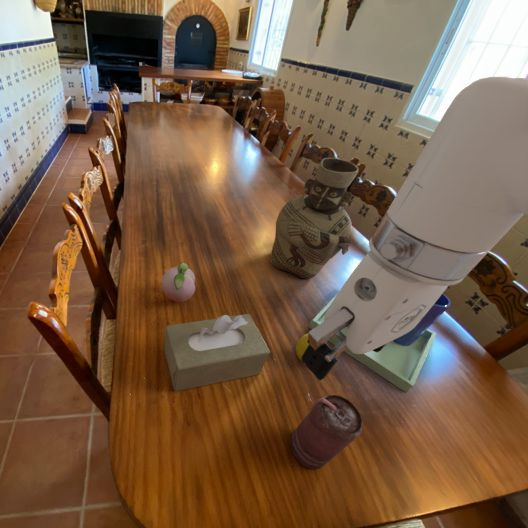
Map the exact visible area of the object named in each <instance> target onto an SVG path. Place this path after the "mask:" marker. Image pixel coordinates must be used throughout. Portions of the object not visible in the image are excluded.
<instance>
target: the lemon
mask: <svg viewBox="0 0 528 528" xmlns="http://www.w3.org/2000/svg"><path fill="white" fill-rule="evenodd" d="M307 340H308V333H306V334H304V335H302V336H301V337H300V338H299V339H298V340H297V341H296V345H295V353H296V356H297V357H298V359H299V360H300V361H301V362H303V361H302V359H301V357H302V355H303V354H304V352H305V350H306V349H307V347H308V345H309V343H308V342H307Z"/></svg>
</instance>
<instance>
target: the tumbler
mask: <svg viewBox="0 0 528 528" xmlns="http://www.w3.org/2000/svg"><path fill="white" fill-rule="evenodd" d="M451 304H452V302H451V300H450V298H449V297H448V296H447V295H446V294H445V293H443V294H442V295H441V296H440V297H439V299H438V300H437V301H436V302H435V304H434V305H433V306H432V307H431V308H430V310H429V311H428V312H427V313H426V315H425V316H424V317H423V318H422V319H421V321H420V322H419V323H418V324H417V325H416V326H415V327H414V328H413V329H412V330H411V331H409V332H408V333H406V334H404V335H403V336H401V337H399V338H397V339H395V340H393V341H394V342H395V343H397V344H400V345H403V346H410V345H412V344H413V343H414V342H415V341H416V340H417V339H418V338H419V337H420V336H421V335H422V334H423V333H424V332H425V331H426V330H427V329H429V328H430V327H431V326H432V325H434V323H435V322H436V321H437V320H438V319H439V318H440V317H441V316H442V315H443V314H444V312H446V311H447V310H448V309H449V307H450V306H451Z"/></svg>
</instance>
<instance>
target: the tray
mask: <svg viewBox="0 0 528 528" xmlns="http://www.w3.org/2000/svg"><path fill="white" fill-rule="evenodd" d="M338 293H339V291H338V292H337V293H336V294H335V295H334V296H333V297H332V298H331V299H330V301H329V302H328V303H327V304H326V305H325V306H324V307H323V308H322V309H321V310H320V311H319V312H318V313H317V315H315V317H313V318H312V320H311V321H310V324H308V328H310V329H311V330H312V329H314V328H315V327H316V326H318V325H319V324H321V323H322V322H324V317H325V315H326V313H327V311H328V309H329V307H330V305H331V304H332V302H333V300H334V299H335V297H336V296H337V294H338ZM347 329H348V328H347V327H345V328H344V329H342V330H341V332H342V333H343V334H344V335H345V336H346V337H347ZM437 334H438V333H436V332H434V331H433V330H431V329H429V328H428V329H427V330H426V331H425V332H424V333H423V334H422V335H421V336H420V337H419V338H418V339H417V340H416V341H415V342H414V343H413V344H412V345H410V346H403V345H400V344H397V343H395V342H394V341H391V342H389V343H387V344H386V345H385V346H384V347H383V348H382V350H381V351H379V352H374V351H373V350H372V351H370V352H367V353H365V354H354V353H353V352H352V351H351V350H350V349H349V348H348V347H347V348H346V349H345V350H344V351H343V352H345V353H346V354H348V355H349V356H351V357H353V358H354V359H355V360H357V361H358V362H360V363H361V364H363V365H364V366H366V367H368V368H369V369H370V370H372V371H373V372H375V373H376V374H378V375H379V376H381V377H382V378H383V379H385V380H387V381H388V382H390V383H391V384H393V386H395V387H397V388H399V389H400V390H401V391H403V392H405V393H407V392H409V391H410V390H411V389H412V388H413V387H414V386H415V384H416V381H417V380H418V377H419V375H420V373H421V371H422V368H423V366H424V363H425V362H426V359H427V357H428V354H429V353H430V351H431V348H432V346H433V344H434V341H435V339H436V337H437ZM327 341H329V342H330V343H331V344H333V345H335V346H337V345H338V344H339V343H340V342H341V340H340V339H339V338H338V337H337V336H336V335H333V336H332V337H330V338H329V339H328V340H327Z"/></svg>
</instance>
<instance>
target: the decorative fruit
mask: <svg viewBox="0 0 528 528" xmlns="http://www.w3.org/2000/svg"><path fill="white" fill-rule="evenodd" d="M195 283H196V276H195V274H194V272H193V270H192V269H190V268H189V265H188V264H187V263H186V262H183V263H180V264H178V266H174V267H171V268H169V269H167V270H166V271H165V272H164V274H163V276H162V279H161V289H162V291H163V293H164V295H165V296H166V297H167V298H168V299H169V300H171V301H173V302H174V303H175V302H176V303H183V302H186V301H188V300H190V299H191V298H192V297H193V295H194V294H195V291H196V284H195Z"/></svg>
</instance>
